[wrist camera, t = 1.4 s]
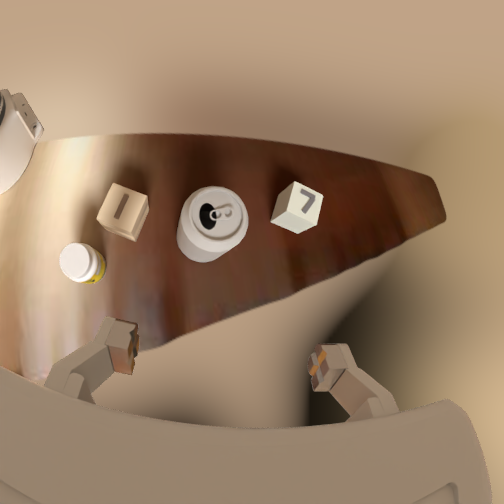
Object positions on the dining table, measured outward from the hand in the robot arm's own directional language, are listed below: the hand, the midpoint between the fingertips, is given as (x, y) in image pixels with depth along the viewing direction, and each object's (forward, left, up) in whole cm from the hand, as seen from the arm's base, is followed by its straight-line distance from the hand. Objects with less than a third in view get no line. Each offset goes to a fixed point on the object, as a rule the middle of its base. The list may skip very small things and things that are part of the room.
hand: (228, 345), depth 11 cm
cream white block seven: (-3, +22, -27) cm, 35 cm away
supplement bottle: (-12, -8, -27) cm, 31 cm away
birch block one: (-15, 0, -27) cm, 31 cm away
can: (-7, +8, -27) cm, 29 cm away
